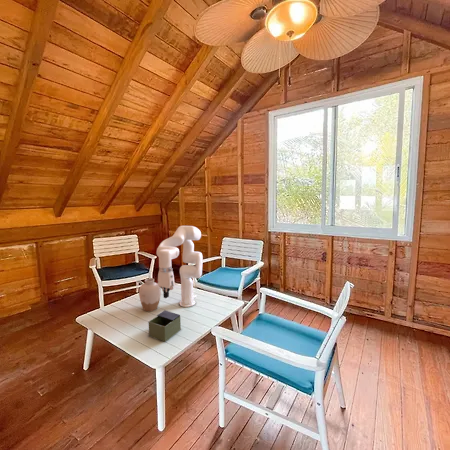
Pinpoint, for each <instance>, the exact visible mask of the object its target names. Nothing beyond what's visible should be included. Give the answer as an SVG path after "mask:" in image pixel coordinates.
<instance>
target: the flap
mask: <svg viewBox="0 0 450 450" xmlns="http://www.w3.org/2000/svg"><path fill="white" fill-rule="evenodd" d="M157 316H160V317H163V318H166V319H169V320H172V321H173V320H175V319H176V318H177V317H179V316H180V317H181V314H179V313H175V312H173V311H169V310H163V311H161V312H160V313H158V314H157V315H156V317H157Z"/></svg>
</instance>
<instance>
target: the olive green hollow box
mask: <svg viewBox="0 0 450 450" xmlns="http://www.w3.org/2000/svg"><path fill="white" fill-rule="evenodd" d="M164 326H165V327H164ZM181 326H182V325H181V315H180V316H179V317H177V318H176V319H175V320H173V321H172V320H169V319H166V318H163V317H160V316H157V315H156V316H155V317H153V318H152V319H150V320H149V321H148V337H151V338H153V339H156V340H158V341H161V342H165V343H166V342H167V341H168V340H169V339H171V338H172V337H173V336H175V335H176V334H177V333H179V332H180V331H181V329H182V328H181Z"/></svg>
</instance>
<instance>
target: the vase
mask: <svg viewBox="0 0 450 450" xmlns="http://www.w3.org/2000/svg"><path fill="white" fill-rule="evenodd" d="M161 295H162V288H160V287H159V285H158V282H155V278H152V277H149V278H146V279H144V283H142V284H141V285H140V286H139V289H138V296H139V302H140V304H141V307H142V308H143V310H144V311H145V312H153V311H156V310H157V309H158V307H159V305H160V301H161Z"/></svg>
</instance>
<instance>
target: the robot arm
mask: <svg viewBox="0 0 450 450" xmlns="http://www.w3.org/2000/svg"><path fill="white" fill-rule="evenodd" d="M201 238H202V232H201V230H200V229H199V228H198V227H196V226H194V225H180V226H178V227H177V228H176V230H175V232H174V233H173V235H172V236H170V237H168V238H166V239H164V240H162V241H161V242H160V243H159V245H158V247H157V248H156V256H157V257H158V274H157V283H158V285H159V287H160V289H161V292H163V298H164V299H167V298H169V297H170V291H172V290H174V287H175V285H176V284H175V275H174V271H173V268H172V260H174V259H177V258H178V257H179V256H180V249H179V246H181V245H182V262H183V263H185V264H183V265H181V266H180V267H179V277H180V292H181V293H180V296H181V297H180V299H181V300H180V301H179V302H178V303H179V306H180V307H184V308H189V307H193V306H195V305H196V300H195V298H197V295H196V294H194V280H193V279H201V277H202V276H203V263H204V256H203V253H202V252H201V251H195V244H194V242H193V241H200V239H201ZM192 264H193V265H192Z"/></svg>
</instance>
